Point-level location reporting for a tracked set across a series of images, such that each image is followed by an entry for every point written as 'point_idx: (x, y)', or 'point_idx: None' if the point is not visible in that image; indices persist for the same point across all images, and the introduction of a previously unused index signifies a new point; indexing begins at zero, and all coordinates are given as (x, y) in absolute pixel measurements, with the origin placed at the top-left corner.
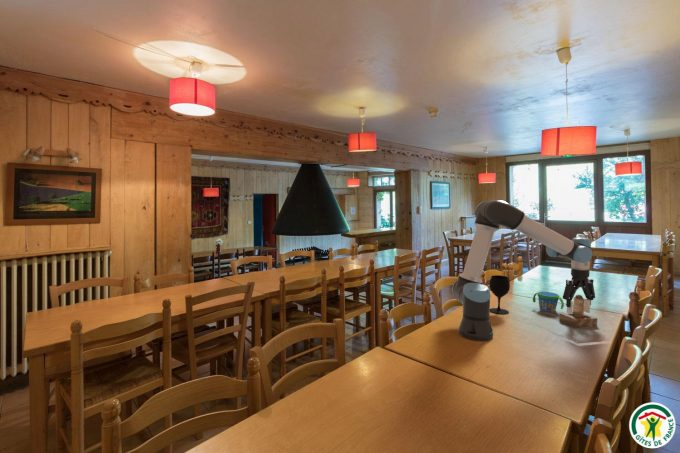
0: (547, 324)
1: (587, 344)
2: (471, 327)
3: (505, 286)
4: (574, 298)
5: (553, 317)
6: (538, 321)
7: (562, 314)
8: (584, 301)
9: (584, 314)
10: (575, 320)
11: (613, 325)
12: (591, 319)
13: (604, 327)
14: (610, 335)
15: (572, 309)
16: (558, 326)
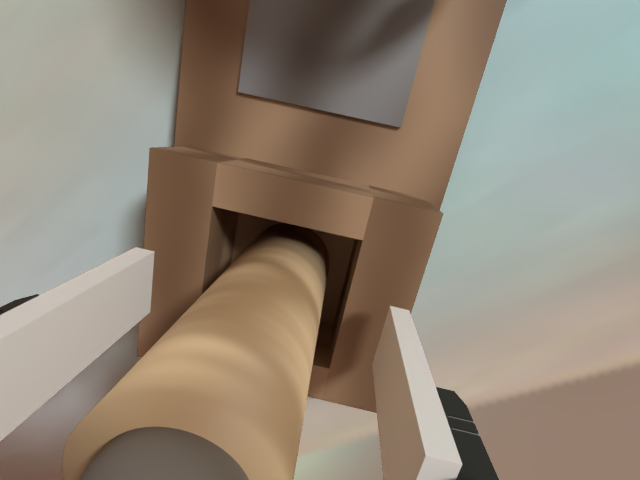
0: (66, 131)
1: (48, 453)
2: None
3: None
4: (71, 442)
5: (226, 44)
6: (42, 34)
7: (147, 190)
8: (411, 407)
9: (386, 295)
10: (144, 341)
11: (567, 371)
12: (309, 391)
13: (446, 365)
14: (312, 449)
15: (106, 344)
16: (119, 204)
